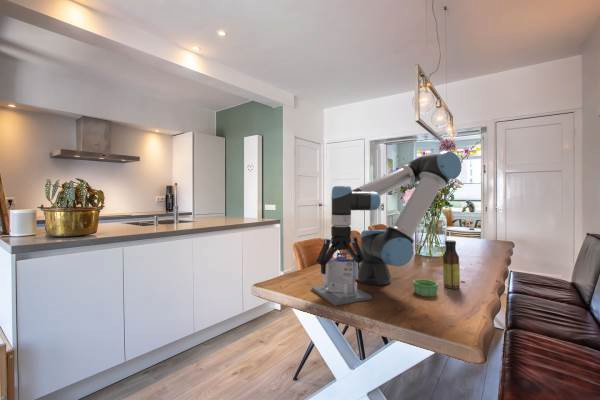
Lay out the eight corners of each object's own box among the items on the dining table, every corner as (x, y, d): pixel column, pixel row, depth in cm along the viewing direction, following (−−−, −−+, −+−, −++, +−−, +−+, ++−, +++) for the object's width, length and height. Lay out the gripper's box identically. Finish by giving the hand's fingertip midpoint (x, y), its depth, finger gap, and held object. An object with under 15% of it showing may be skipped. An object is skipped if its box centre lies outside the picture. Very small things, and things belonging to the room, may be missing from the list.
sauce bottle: (459, 286, 122) (460, 240, 122) (460, 290, 117) (461, 242, 116) (442, 284, 125) (442, 239, 125) (442, 288, 119) (443, 241, 119)
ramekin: (425, 288, 119) (425, 278, 119) (443, 295, 111) (443, 284, 111) (408, 291, 116) (408, 280, 116) (425, 298, 107) (425, 287, 107)
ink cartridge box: (354, 289, 113) (354, 253, 113) (353, 294, 108) (354, 255, 107) (329, 287, 115) (329, 251, 115) (327, 292, 110) (328, 254, 109)
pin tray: (345, 285, 123) (345, 270, 123) (371, 299, 106) (371, 282, 106) (311, 289, 116) (311, 274, 116) (334, 305, 100) (334, 287, 100)
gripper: (317, 228, 102) (316, 286, 103) (373, 225, 112) (372, 279, 113) (307, 226, 109) (307, 281, 109) (361, 223, 119) (361, 274, 120)
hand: (340, 280), depth 111 cm, fingers open, 13 cm apart
